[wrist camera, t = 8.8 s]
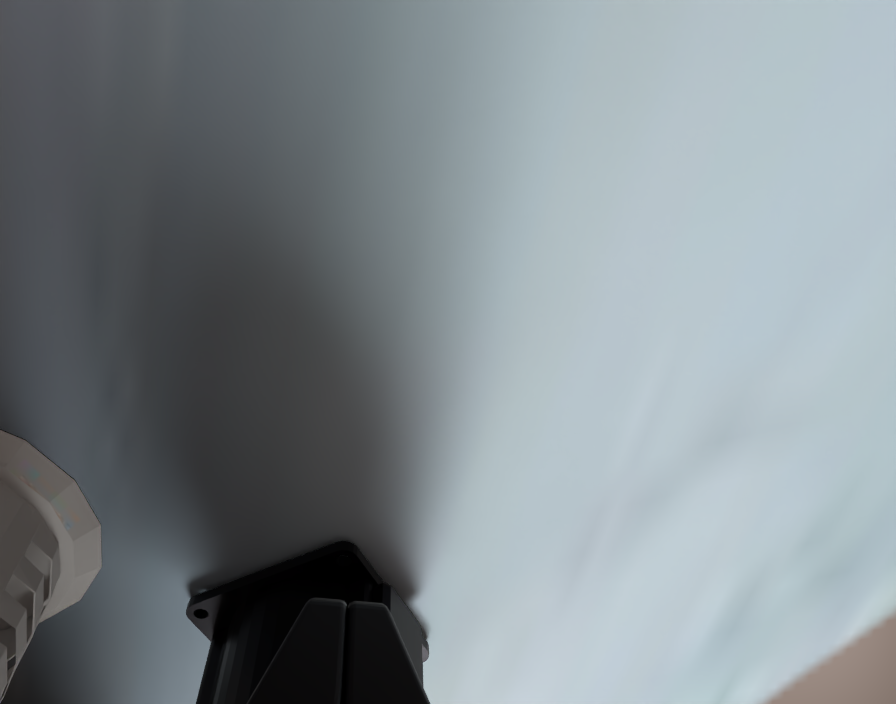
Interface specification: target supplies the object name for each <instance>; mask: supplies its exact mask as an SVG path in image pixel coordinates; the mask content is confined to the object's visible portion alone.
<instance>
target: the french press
mask: <svg viewBox="0 0 896 704" xmlns="http://www.w3.org/2000/svg"><path fill="white" fill-rule="evenodd" d="M101 567H102V552H101V524H100V523H99V521H98V519H97V518H96V516H95V514H94V512H93V511H92V509H91V507H90V506H89V504H88V502H87V500H86V499H85V497H84V495H83V494H82V492H81V490H80V488H79V487H78V485H77V483H76V482H75V480H74V479H72V478H71V477H70V476H69V475H67V474H66V473H65V472H64V471H62V470H61V469H60V468H59V467H58V466H56V465H55V464H54V463H53V462H51V461H50V460H49V459H48V458H46V457H45V456H44V455H43V454H41V453H40V452H39V451H38V450H37V449H35V448H34V447H33V446H32V445H30V444H29V443H28V442H27V441H25V440H23V439H21V438H18V437H16V436H13V435H11V434H9V433H6V432H4V431H2V430H0V703H1V701H2V699H3V698H4V695H5V693H6V691H7V688H8V686H9V684H10V681H11V679H12V677H13V674H14V672H15V670H16V668H17V666H18V664H19V662H20V660H21V658H22V656H23V654H24V652H25V651H26V649H27V647H28V645H29V643H30V641H31V639H32V637H33V634H34V632H35V629H36V627H37V625H38V624H39V623H40V622H43V621H44V620H46V619H48V618H50V617H51V616H53V615H55V614H57V613H58V612H60V611H62V610H64V609H66V608H67V607H69V606H71V605H73V604H74V603H76V602H78V601H80V600H81V598H82V597H83V595H84V594H85V592H86V591H87V589H88V587H89V586H90V584H91V583H92V581H93V580H94V578H95V577H96V575H97V573H98V572H99V570H100V569H101ZM15 655H16V664H15V665H14V666H13V667H11V668H10V669H9V670H7V662H8V661H9V660H10V659H11V658H13V657H14V656H15ZM7 684H8V685H7ZM6 685H7V687H6ZM5 687H6V689H5ZM4 689H5V692H4V694H3V691H4ZM2 694H3V697H1V696H2Z"/></svg>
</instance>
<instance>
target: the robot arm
mask: <svg viewBox="0 0 896 704" xmlns="http://www.w3.org/2000/svg"><path fill="white" fill-rule="evenodd" d="M342 555H345V556H348V557H340V556H342ZM186 615H187V617H188V618H189V619H190V620H191V621H192V623H193V624H194V625H195V626H196V627H197V628H198V629H199V630H200V631H201V632H202V633H203V634H204V635H205V636H206V637H207V638H208V639H209V640H210V641H211V645H210V649H209V653H208V657H207V661H206V665H205V669H204V673H203V677H202V681H201V685H200V689H199V693H198V697H197V701H196V704H430V702H429V700H428V697H427V695H426V693H425V691H424V688H423V662H425V661H426V660H427V659H428V657H429V645H428V642H427V641H426V639H425V638H424V637H423V635H422V629H421V626H420V624H419V623H418V621H417V620H416V619H415V617H414V616H413V615H412V613H411V612H410V610H409V609H408V608H407V606H406V605H405V604H404V602H403V601H402V599H401V598H400V597H399V595H398V594H397V593H396V591H395V590H394V588H393V587H392V586H391V585H389V584H387V583H385V582H383V581H382V579H381V578H380V577H379V575H378V574H377V573H376V571H375V570H374V569H373V567H372V566H371V564H370V563H369V562H368V560H367V559H366V558H365V556H364V555H363V554H362V552H361V551H360V549H359V548H358V547H357V546H356V545H355V544H354V543H351V542H349V541H340V542H336V543H334V544H331V545H328V546H326V547H323V548H320V549H318V550H315V551H312V552H310V553H307V554H304V555H302V556H299V557H296V558H294V559H291V560H289V561H286V562H283V563H281V564H278V565H275V566H273V567H270V568H267V569H265V570H262V571H259V572H257V573H254V574H251V575H249V576H246V577H243V578H241V579H238V580H235V581H233V582H230V583H228V584H225V585H222V586H220V587H217V588H214V589H212V590H209V591H206V592H204V593H201V594H198V595H196V596H194V597H192V598H191V599H190V601H189V603H188V606H187V610H186Z"/></svg>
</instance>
